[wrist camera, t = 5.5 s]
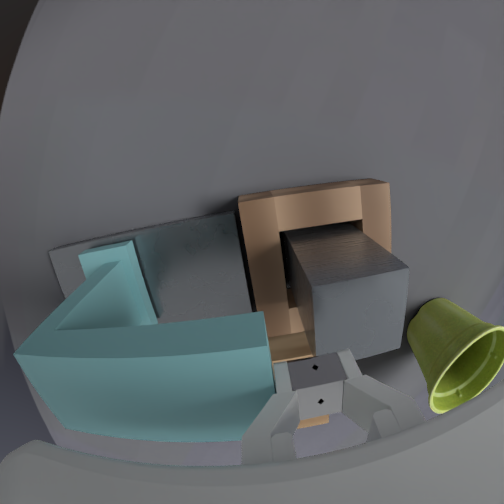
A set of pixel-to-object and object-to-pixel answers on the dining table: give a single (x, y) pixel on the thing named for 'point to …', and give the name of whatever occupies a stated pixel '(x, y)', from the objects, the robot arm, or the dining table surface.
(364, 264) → the grey rectangular block
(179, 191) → the dining table surface
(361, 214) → the socket frame
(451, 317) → the plant pot
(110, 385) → the plate
